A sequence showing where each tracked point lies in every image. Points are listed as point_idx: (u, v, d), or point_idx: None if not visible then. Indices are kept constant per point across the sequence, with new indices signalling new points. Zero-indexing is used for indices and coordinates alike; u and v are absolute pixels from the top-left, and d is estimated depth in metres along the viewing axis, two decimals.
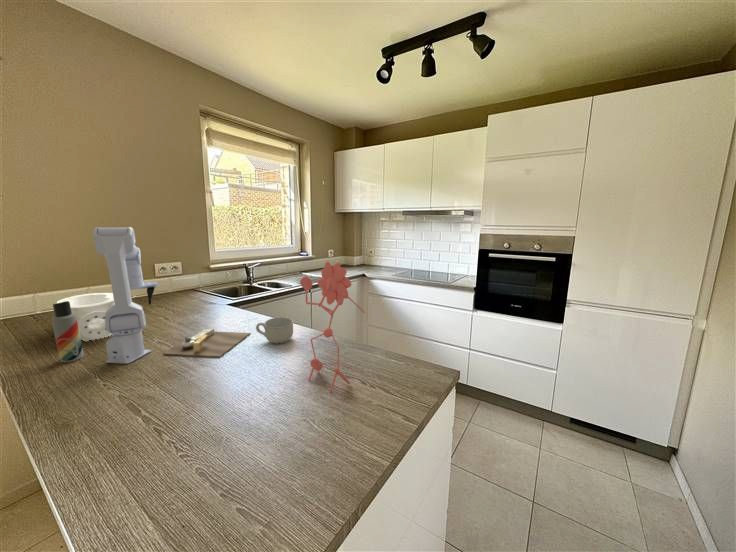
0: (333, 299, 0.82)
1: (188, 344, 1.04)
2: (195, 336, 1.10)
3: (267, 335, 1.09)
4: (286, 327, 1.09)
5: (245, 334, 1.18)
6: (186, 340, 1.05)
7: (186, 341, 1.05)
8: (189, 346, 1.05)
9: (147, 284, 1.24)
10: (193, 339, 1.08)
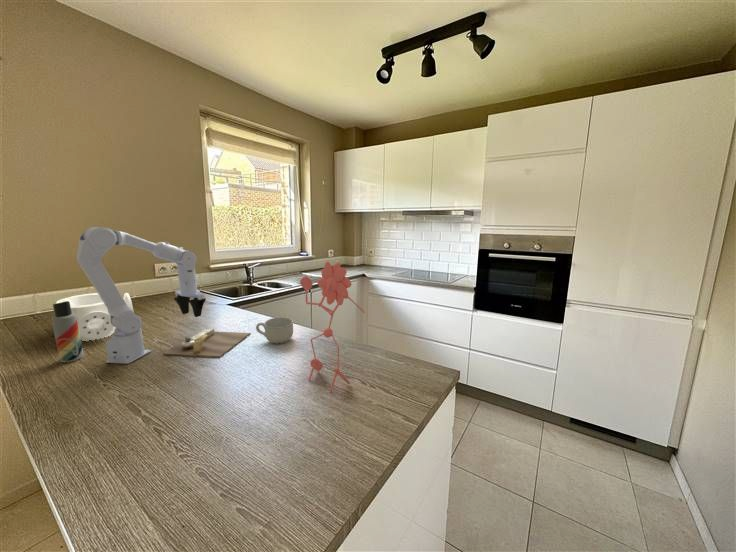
0: (333, 299, 0.82)
1: (188, 344, 1.04)
2: (195, 336, 1.10)
3: (267, 335, 1.09)
4: (286, 327, 1.09)
5: (245, 334, 1.18)
6: (186, 340, 1.05)
7: (186, 341, 1.05)
8: (189, 346, 1.05)
9: (195, 294, 1.12)
10: (193, 339, 1.08)
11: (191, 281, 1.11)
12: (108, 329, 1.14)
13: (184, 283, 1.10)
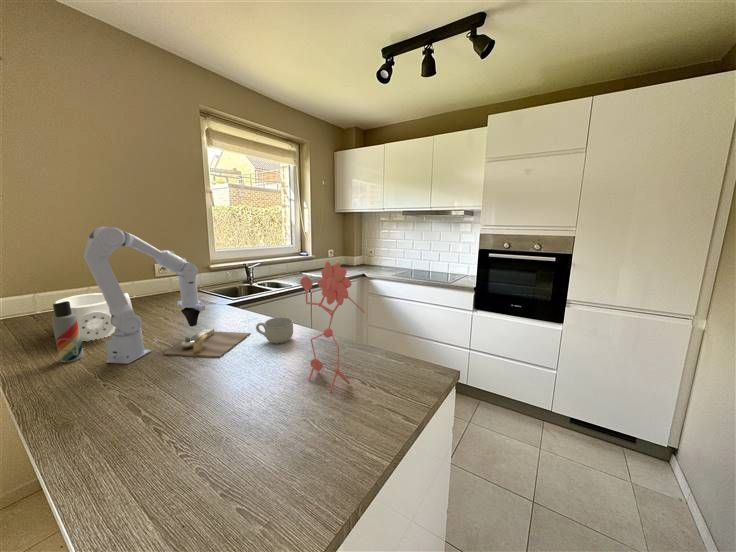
0: (333, 299, 0.82)
1: (188, 344, 1.04)
2: (195, 336, 1.10)
3: (267, 335, 1.09)
4: (286, 327, 1.09)
5: (245, 334, 1.18)
6: (186, 340, 1.05)
7: (186, 341, 1.05)
8: (189, 346, 1.05)
9: (196, 305, 1.12)
10: (193, 339, 1.08)
11: (192, 292, 1.12)
12: (107, 329, 1.14)
13: (185, 294, 1.11)
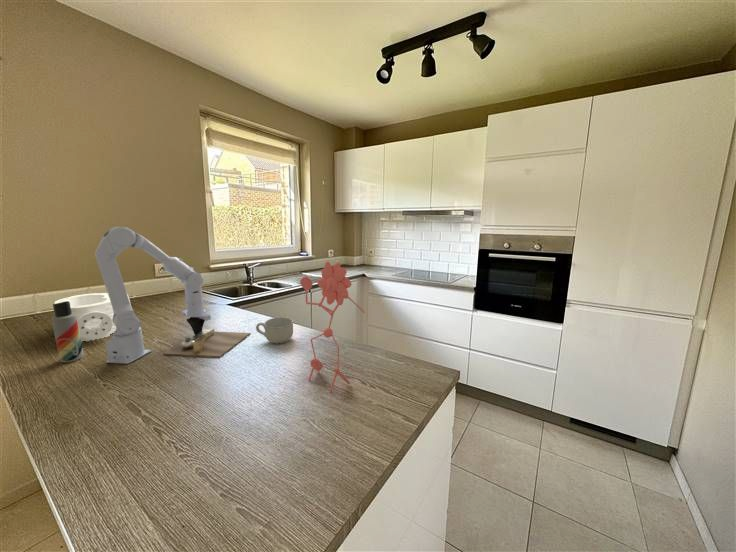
0: (333, 299, 0.82)
1: (188, 344, 1.04)
2: (195, 336, 1.10)
3: (267, 335, 1.09)
4: (286, 327, 1.09)
5: (245, 334, 1.18)
6: (186, 340, 1.05)
7: (186, 341, 1.05)
8: (189, 346, 1.05)
9: (202, 314, 1.12)
10: (193, 339, 1.08)
11: (197, 302, 1.11)
12: (106, 330, 1.13)
13: (191, 304, 1.10)
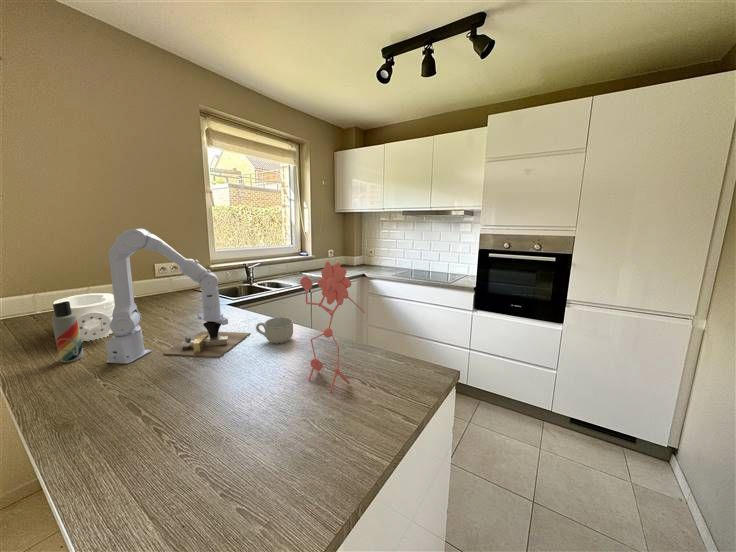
0: (333, 299, 0.82)
1: (182, 344, 1.04)
2: None
3: (267, 335, 1.09)
4: (286, 327, 1.09)
5: (245, 334, 1.18)
6: None
7: None
8: (182, 346, 1.04)
9: (219, 319, 1.07)
10: (193, 341, 1.06)
11: (211, 306, 1.06)
12: (104, 330, 1.13)
13: (208, 308, 1.06)
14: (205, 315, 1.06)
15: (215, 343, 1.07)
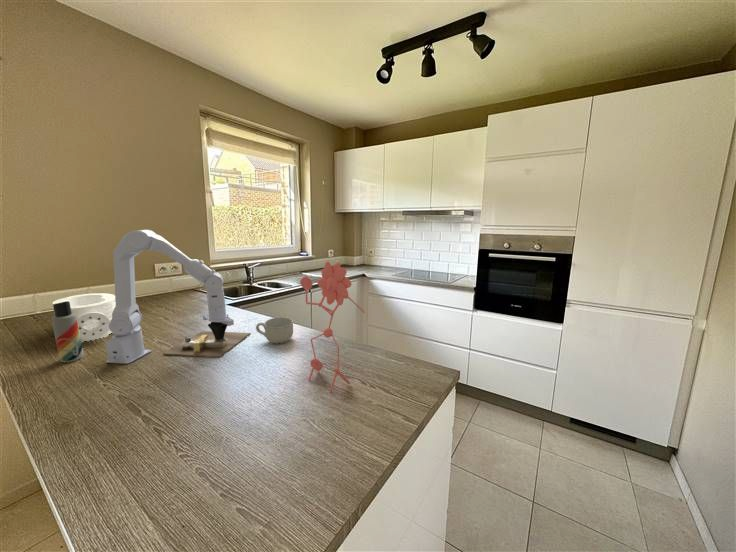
0: (333, 299, 0.82)
1: None
2: None
3: (267, 335, 1.09)
4: (286, 327, 1.09)
5: (245, 334, 1.18)
6: None
7: None
8: (182, 346, 1.05)
9: (224, 319, 1.06)
10: (192, 342, 1.05)
11: (216, 307, 1.05)
12: (103, 330, 1.13)
13: (213, 308, 1.05)
14: (210, 316, 1.05)
15: (212, 345, 1.05)
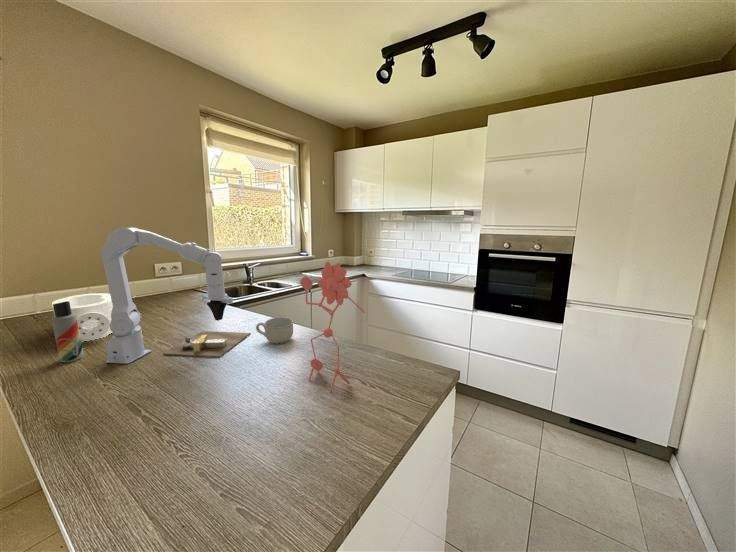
0: (333, 299, 0.82)
1: None
2: None
3: (267, 335, 1.09)
4: (286, 327, 1.09)
5: (245, 334, 1.18)
6: None
7: None
8: (182, 346, 1.05)
9: None
10: (192, 342, 1.05)
11: (215, 285, 1.05)
12: (103, 330, 1.13)
13: (212, 286, 1.05)
14: (209, 294, 1.05)
15: (212, 345, 1.05)
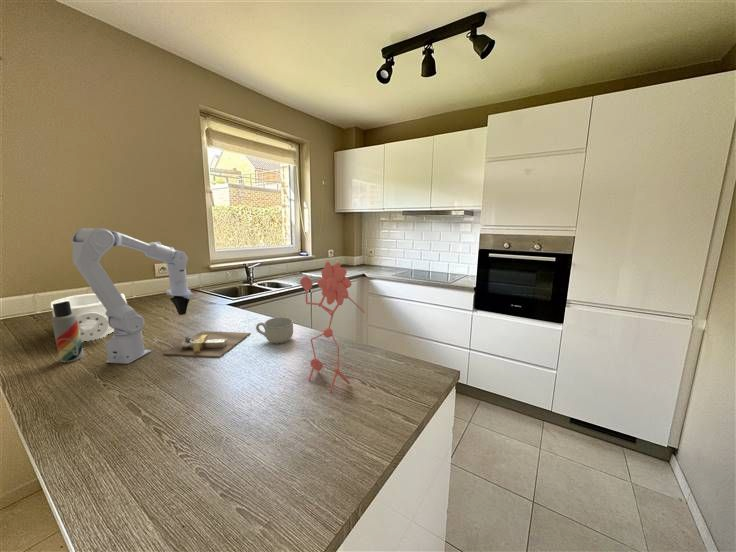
0: (333, 299, 0.82)
1: None
2: None
3: (267, 335, 1.09)
4: (286, 327, 1.09)
5: (245, 334, 1.18)
6: None
7: None
8: (182, 346, 1.05)
9: None
10: (192, 342, 1.05)
11: (183, 280, 1.12)
12: (101, 330, 1.12)
13: (174, 283, 1.11)
14: (172, 290, 1.11)
15: (212, 345, 1.05)
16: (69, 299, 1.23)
